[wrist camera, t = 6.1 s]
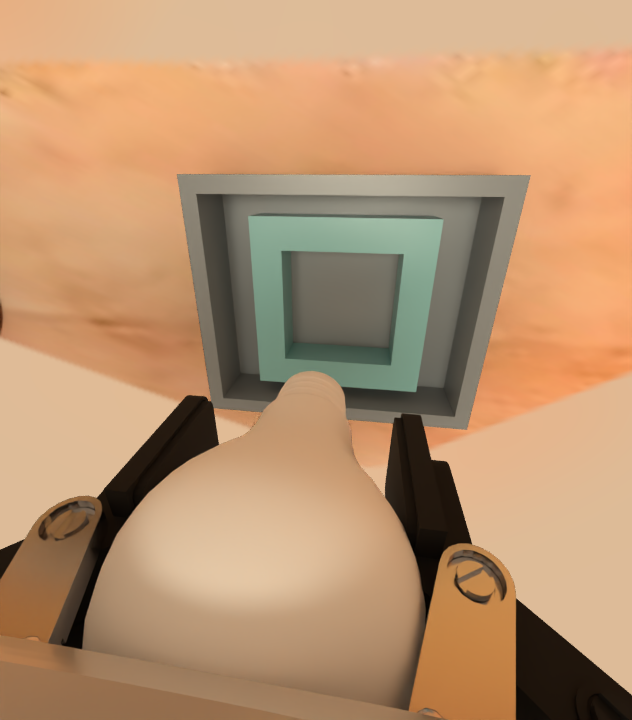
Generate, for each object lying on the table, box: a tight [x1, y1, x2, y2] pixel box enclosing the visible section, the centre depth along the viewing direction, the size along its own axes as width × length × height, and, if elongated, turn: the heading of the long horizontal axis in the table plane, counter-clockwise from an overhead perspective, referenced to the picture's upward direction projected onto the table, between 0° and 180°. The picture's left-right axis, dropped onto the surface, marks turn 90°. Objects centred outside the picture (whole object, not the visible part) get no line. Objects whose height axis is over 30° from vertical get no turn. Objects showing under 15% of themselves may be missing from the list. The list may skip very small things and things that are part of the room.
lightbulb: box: [82, 371, 426, 711], centre depth 9 cm, size 6×6×11 cm
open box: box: [177, 174, 531, 430], centre depth 24 cm, size 19×16×5 cm
